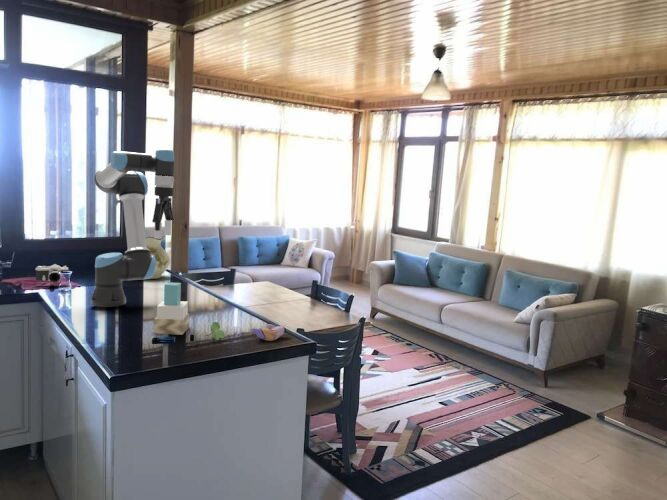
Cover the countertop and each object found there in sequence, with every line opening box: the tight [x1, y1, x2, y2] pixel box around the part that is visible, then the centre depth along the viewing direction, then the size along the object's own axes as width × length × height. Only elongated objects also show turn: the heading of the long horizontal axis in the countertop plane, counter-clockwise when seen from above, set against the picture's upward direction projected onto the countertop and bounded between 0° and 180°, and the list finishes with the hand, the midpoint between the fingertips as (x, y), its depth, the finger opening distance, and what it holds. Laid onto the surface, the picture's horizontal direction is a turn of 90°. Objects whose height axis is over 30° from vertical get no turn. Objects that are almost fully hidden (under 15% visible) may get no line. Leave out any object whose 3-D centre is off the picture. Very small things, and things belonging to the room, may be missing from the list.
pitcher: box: [145, 235, 171, 280], centre depth 317 cm, size 22×24×25 cm
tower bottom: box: [153, 313, 190, 336], centre depth 214 cm, size 11×11×6 cm
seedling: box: [204, 321, 226, 341], centre depth 207 cm, size 7×8×6 cm
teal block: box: [163, 282, 182, 306], centre depth 212 cm, size 5×5×8 cm
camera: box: [35, 263, 69, 283], centre depth 288 cm, size 16×9×10 cm, turn 115°
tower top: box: [156, 300, 189, 320], centre depth 213 cm, size 10×10×5 cm
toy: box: [250, 323, 287, 342], centre depth 210 cm, size 9×6×15 cm
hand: (162, 236), depth 229 cm, fingers open, 13 cm apart
